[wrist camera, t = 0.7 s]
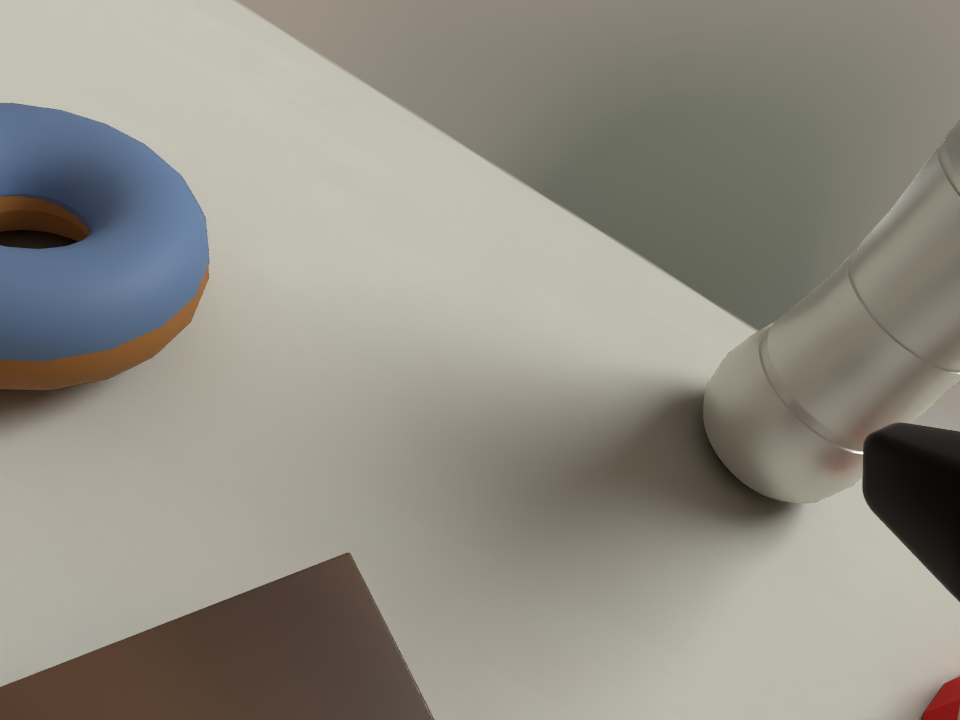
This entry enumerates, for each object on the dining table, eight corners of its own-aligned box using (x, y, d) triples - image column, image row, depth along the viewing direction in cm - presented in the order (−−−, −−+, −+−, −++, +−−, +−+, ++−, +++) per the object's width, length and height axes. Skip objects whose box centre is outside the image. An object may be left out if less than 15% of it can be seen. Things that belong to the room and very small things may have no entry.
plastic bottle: (782, 555, 32) (1390, 144, 18) (651, 424, 34) (1119, -51, 20) (841, 471, 37) (1370, 87, 22) (724, 359, 38) (1149, -69, 24)
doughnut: (-94, 139, 28) (-107, 15, 25) (221, 225, 31) (246, 125, 28) (-251, 383, 22) (-296, 260, 18) (163, 460, 25) (188, 367, 22)
